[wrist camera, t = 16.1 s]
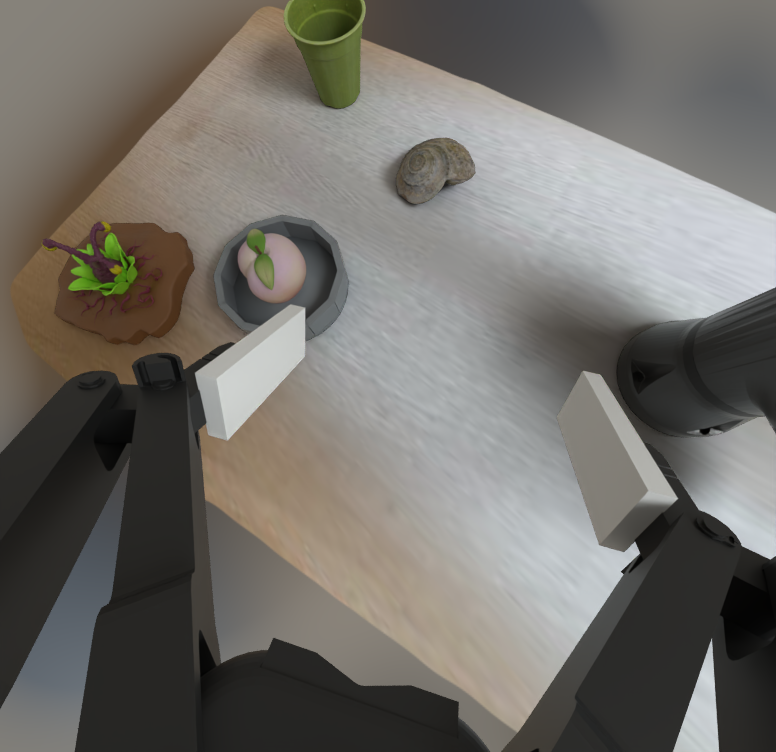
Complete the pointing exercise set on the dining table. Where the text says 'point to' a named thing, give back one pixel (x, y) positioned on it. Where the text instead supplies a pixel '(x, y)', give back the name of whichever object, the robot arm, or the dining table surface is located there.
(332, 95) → the plant pot
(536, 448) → the dining table surface
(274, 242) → the decorative fruit
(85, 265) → the sprouting soil patch
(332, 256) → the bowl
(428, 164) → the fossilized seashell
